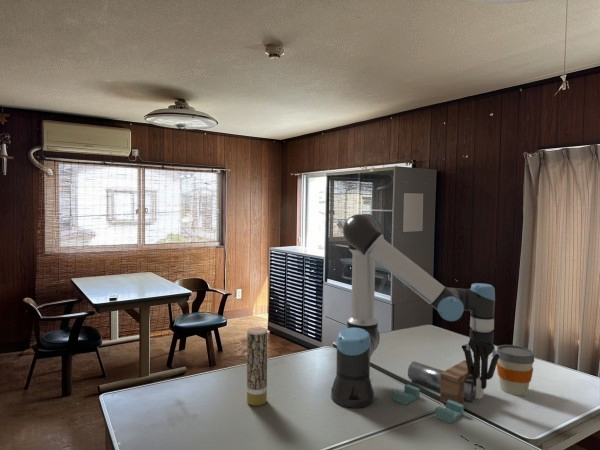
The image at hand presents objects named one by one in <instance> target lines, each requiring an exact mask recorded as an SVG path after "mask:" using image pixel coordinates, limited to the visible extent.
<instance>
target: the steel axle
mask: <svg viewBox="0 0 600 450" xmlns="http://www.w3.org/2000/svg"><path fill="white" fill-rule="evenodd" d="M444 371H445V370H443V369H440V368H436V367H432V366H429V365H428V364H423V363H421V362H418V361H412V362H411V363H410V364H409V365H408V370H407V377H408V379H409V380H412V381H413V382H417V383H419V384H422V385H425V386H428V387H430V388H433V389H436V390H439V391H440V389H441V373H442V372H444ZM476 398H477V397H476V386H474V380H471V379H468V378H467V379H465V380H464V400H467V401H469V402H474V401H475V400H476ZM473 400H474V401H473Z"/></svg>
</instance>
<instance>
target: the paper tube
mask: <svg viewBox="0 0 600 450" xmlns="http://www.w3.org/2000/svg"><path fill="white" fill-rule="evenodd" d="M246 333H247V334H246V335H247V336H246V338H247V339H246V341H247V345H246V346H247V348H246V402H247V403H248V405H250V406H253V407H255V406H256V407H258V406H259V407H260V406H263V405H264V404H266V402H267V398H268V397H267V395H268V329H267V328H265V327H261V326H258V327H257V326H256V327H250V328H248V329H247V332H246Z"/></svg>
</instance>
